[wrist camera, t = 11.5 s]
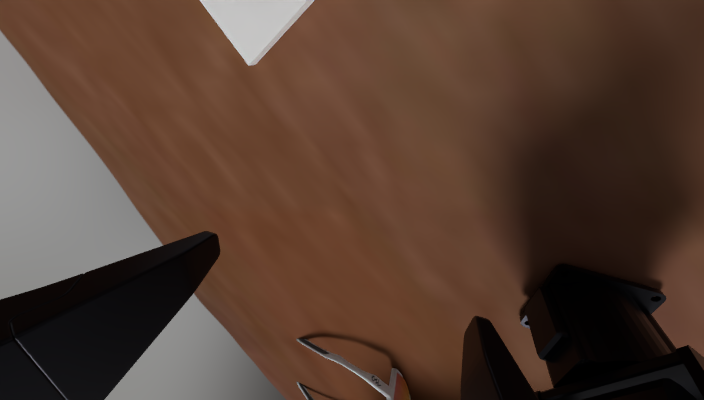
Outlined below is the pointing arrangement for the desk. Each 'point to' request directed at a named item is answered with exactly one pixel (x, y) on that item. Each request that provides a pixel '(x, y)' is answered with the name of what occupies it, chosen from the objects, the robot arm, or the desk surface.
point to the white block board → (255, 22)
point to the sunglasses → (363, 376)
